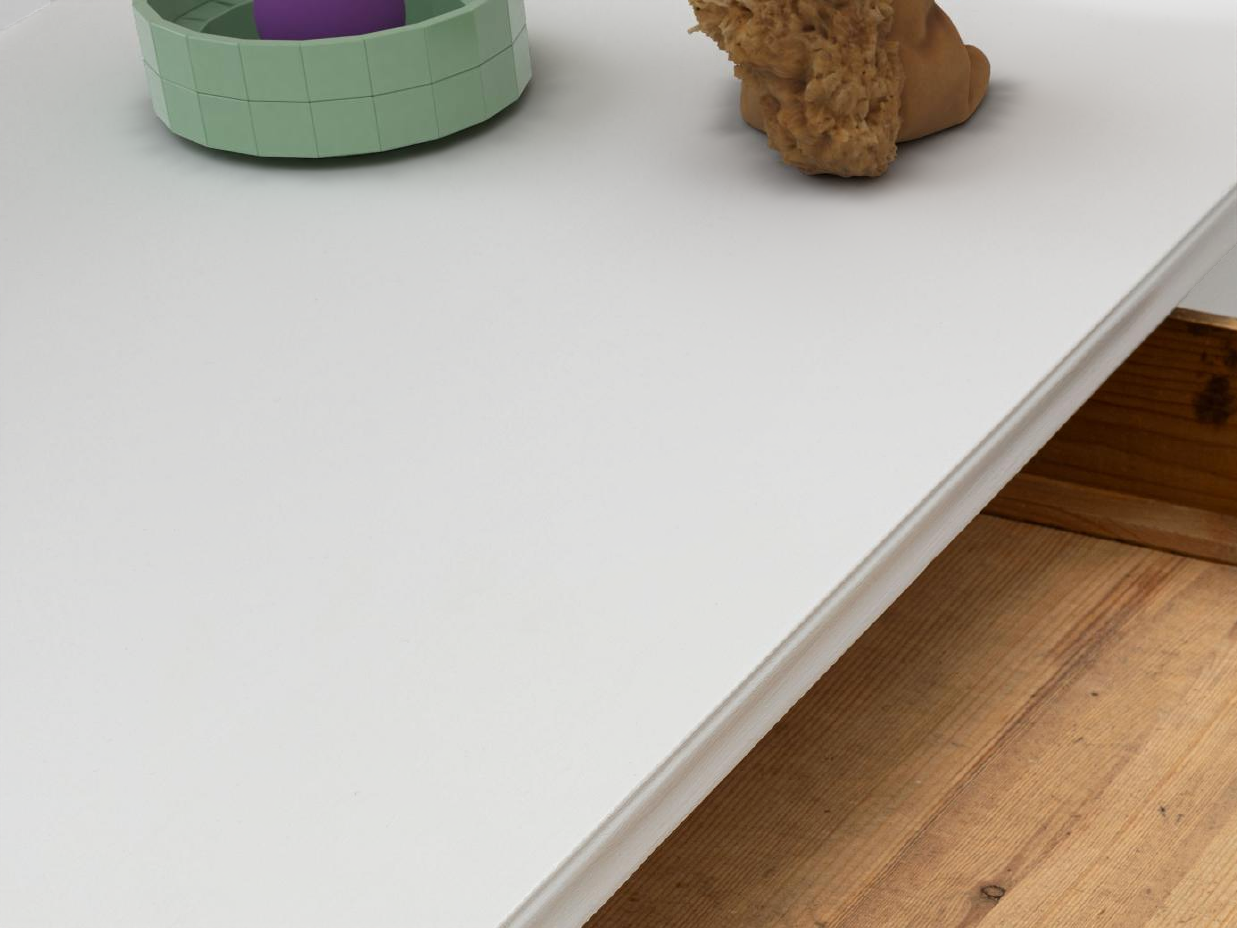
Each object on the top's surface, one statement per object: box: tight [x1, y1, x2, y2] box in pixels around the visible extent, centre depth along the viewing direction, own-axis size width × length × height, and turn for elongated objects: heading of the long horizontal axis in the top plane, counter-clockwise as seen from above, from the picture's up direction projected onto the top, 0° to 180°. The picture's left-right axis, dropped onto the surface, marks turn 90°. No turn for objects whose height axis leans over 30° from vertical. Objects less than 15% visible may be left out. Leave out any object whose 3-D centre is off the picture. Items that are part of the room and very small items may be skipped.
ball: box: [253, 0, 406, 41], centre depth 104 cm, size 6×6×6 cm
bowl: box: [131, 0, 533, 159], centre depth 104 cm, size 15×15×5 cm
